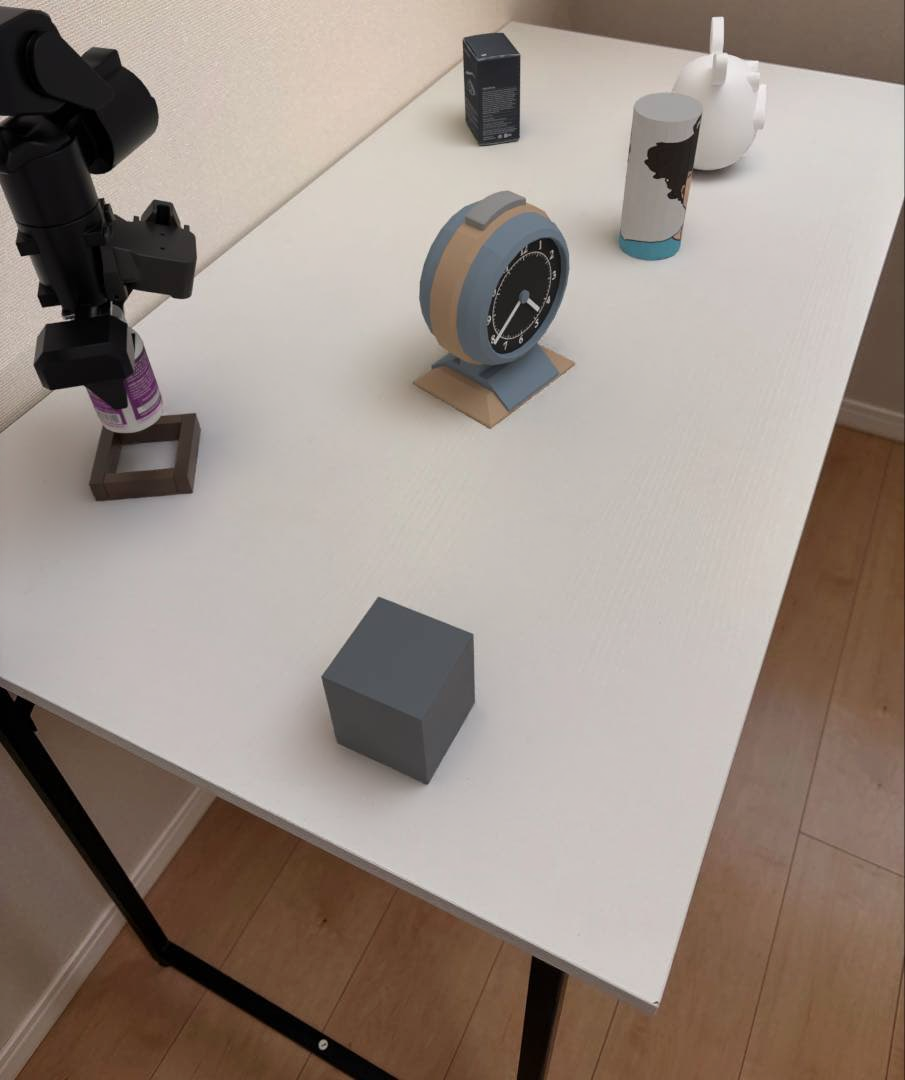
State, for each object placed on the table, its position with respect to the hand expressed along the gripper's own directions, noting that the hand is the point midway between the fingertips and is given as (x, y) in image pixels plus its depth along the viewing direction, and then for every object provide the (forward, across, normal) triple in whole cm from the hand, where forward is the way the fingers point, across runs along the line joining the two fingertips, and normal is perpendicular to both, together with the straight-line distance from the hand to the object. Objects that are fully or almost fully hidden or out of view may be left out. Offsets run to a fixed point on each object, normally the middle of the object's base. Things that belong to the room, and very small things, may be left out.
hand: (122, 386), depth 76 cm
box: (+9, +54, -44) cm, 71 cm away
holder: (+9, 0, 0) cm, 9 cm away
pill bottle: (+3, 0, 0) cm, 3 cm away
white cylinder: (+9, +23, -54) cm, 60 cm away
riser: (+9, -31, -17) cm, 36 cm away
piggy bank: (+9, +38, -68) cm, 78 cm away
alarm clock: (+9, +5, -32) cm, 34 cm away
